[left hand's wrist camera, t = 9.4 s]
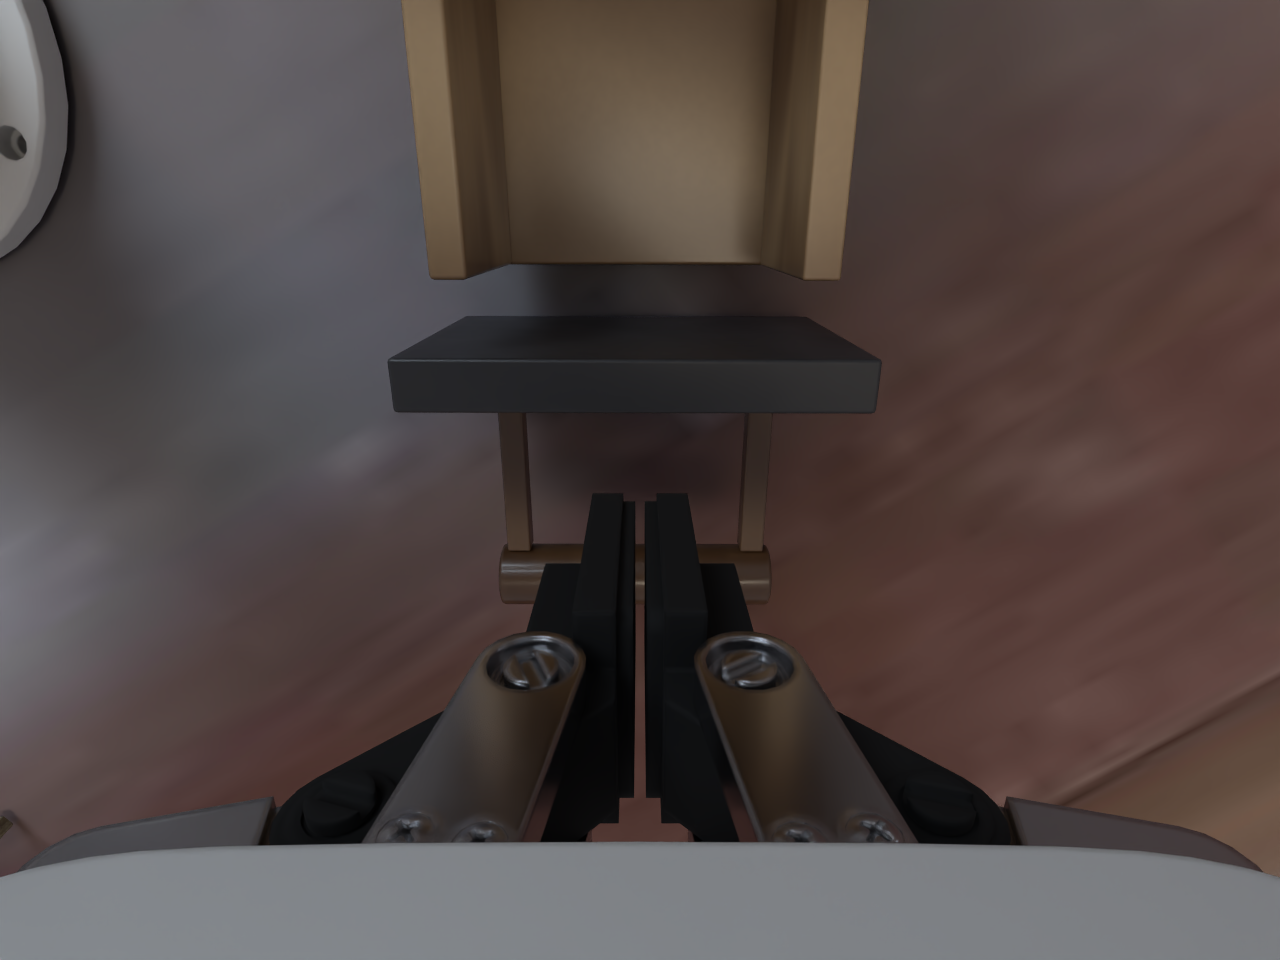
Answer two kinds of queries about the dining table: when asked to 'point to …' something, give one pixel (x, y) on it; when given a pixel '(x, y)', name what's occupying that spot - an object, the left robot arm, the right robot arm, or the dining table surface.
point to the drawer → (634, 220)
